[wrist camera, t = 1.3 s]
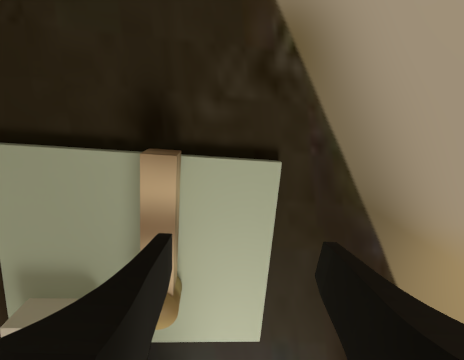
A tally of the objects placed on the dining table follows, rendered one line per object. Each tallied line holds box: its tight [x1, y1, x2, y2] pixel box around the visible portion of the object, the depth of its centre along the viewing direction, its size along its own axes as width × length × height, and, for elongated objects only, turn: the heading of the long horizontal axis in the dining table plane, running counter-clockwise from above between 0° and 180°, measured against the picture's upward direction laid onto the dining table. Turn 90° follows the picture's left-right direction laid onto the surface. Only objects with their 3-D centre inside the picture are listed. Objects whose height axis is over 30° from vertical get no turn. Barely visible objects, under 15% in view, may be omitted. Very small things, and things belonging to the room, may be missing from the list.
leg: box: [140, 148, 182, 330], centre depth 22 cm, size 15×4×3 cm, turn 176°
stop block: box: [0, 298, 78, 338], centre depth 23 cm, size 3×7×4 cm, turn 85°
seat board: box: [0, 143, 282, 342], centre depth 24 cm, size 19×24×1 cm
